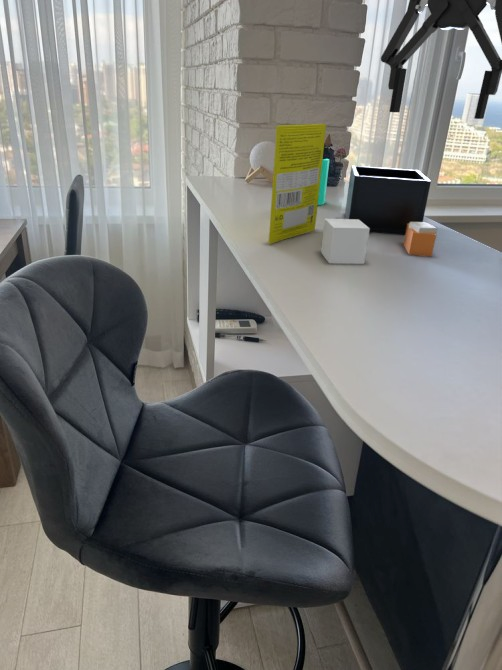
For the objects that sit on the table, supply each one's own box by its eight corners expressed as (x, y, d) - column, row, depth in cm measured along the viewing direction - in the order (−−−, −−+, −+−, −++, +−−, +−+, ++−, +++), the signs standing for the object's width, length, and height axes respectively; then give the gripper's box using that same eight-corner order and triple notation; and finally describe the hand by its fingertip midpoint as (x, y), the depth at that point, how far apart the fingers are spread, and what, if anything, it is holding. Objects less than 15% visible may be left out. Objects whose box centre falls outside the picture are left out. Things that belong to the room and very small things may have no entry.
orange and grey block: (425, 245, 96) (430, 220, 94) (432, 256, 90) (438, 229, 87) (402, 243, 96) (407, 218, 94) (408, 254, 90) (413, 227, 88)
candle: (328, 204, 125) (334, 153, 120) (307, 205, 123) (312, 153, 118) (317, 199, 130) (322, 150, 125) (296, 200, 128) (301, 150, 123)
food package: (312, 229, 103) (323, 123, 94) (317, 230, 102) (328, 124, 93) (266, 243, 92) (274, 125, 83) (271, 245, 91) (279, 125, 82)
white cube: (320, 252, 89) (324, 218, 86) (353, 253, 89) (358, 219, 87) (329, 263, 83) (333, 227, 81) (364, 263, 84) (369, 228, 81)
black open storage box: (409, 219, 115) (418, 170, 110) (420, 236, 102) (431, 181, 97) (344, 214, 117) (351, 165, 112) (347, 230, 104) (354, 175, 99)
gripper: (374, -46, 75) (354, 109, 85) (561, -63, 63) (513, 122, 72) (392, -36, 81) (371, 109, 90) (568, -49, 68) (523, 121, 78)
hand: (434, 115), depth 81 cm, fingers open, 13 cm apart
